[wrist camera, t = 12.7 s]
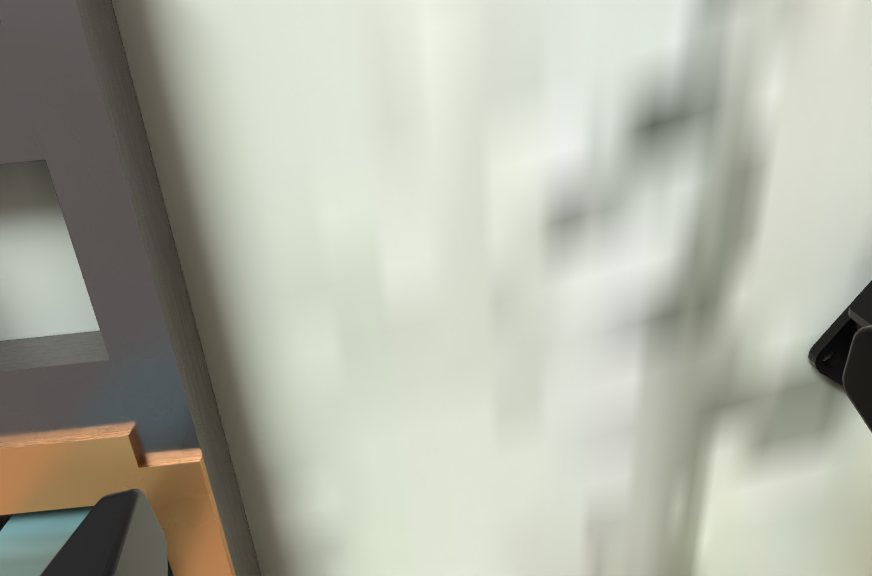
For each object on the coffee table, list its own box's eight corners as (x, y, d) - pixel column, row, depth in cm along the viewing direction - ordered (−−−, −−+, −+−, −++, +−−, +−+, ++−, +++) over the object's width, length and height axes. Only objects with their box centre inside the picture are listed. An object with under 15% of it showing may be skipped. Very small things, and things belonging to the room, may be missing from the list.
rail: (-287, -46, 17) (-387, -49, 15) (88, -88, 17) (41, -97, 15) (54, 703, 27) (24, 764, 25) (288, 680, 27) (278, 739, 25)
